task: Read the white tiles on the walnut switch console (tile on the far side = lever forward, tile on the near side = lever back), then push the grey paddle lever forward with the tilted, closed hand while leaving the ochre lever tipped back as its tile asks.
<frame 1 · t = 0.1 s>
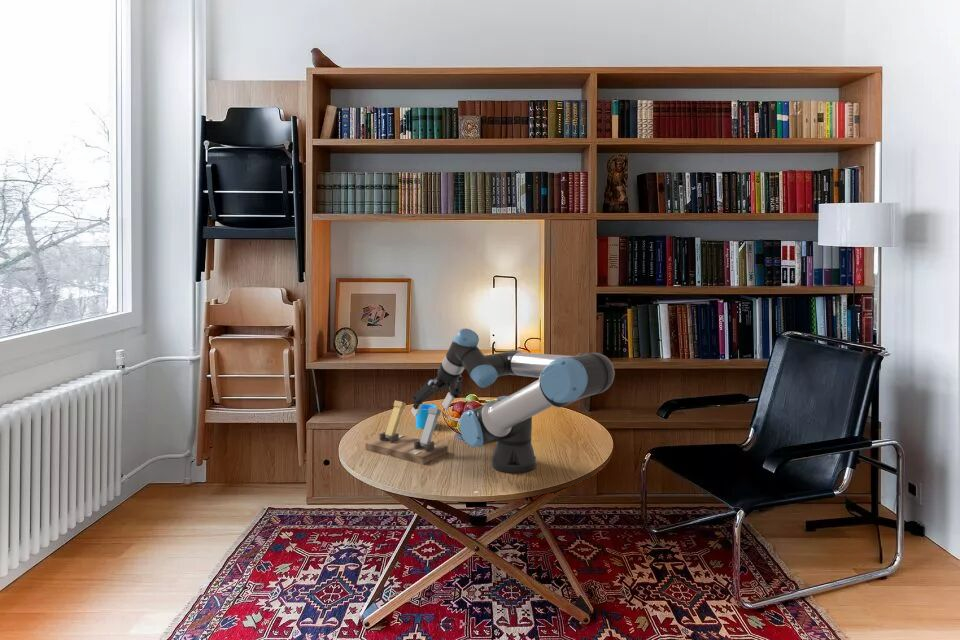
hand: (429, 410, 229), 15 cm above the table, tool tilted 35°, fingers open, 13 cm apart
grey lever: (429, 427, 229), point 9 cm above the table, hinge at 30.0°
console: (406, 451, 232), on the table
mug: (426, 425, 262), on the table
ochre lever: (394, 420, 237), point 9 cm above the table, hinge at 30.0°
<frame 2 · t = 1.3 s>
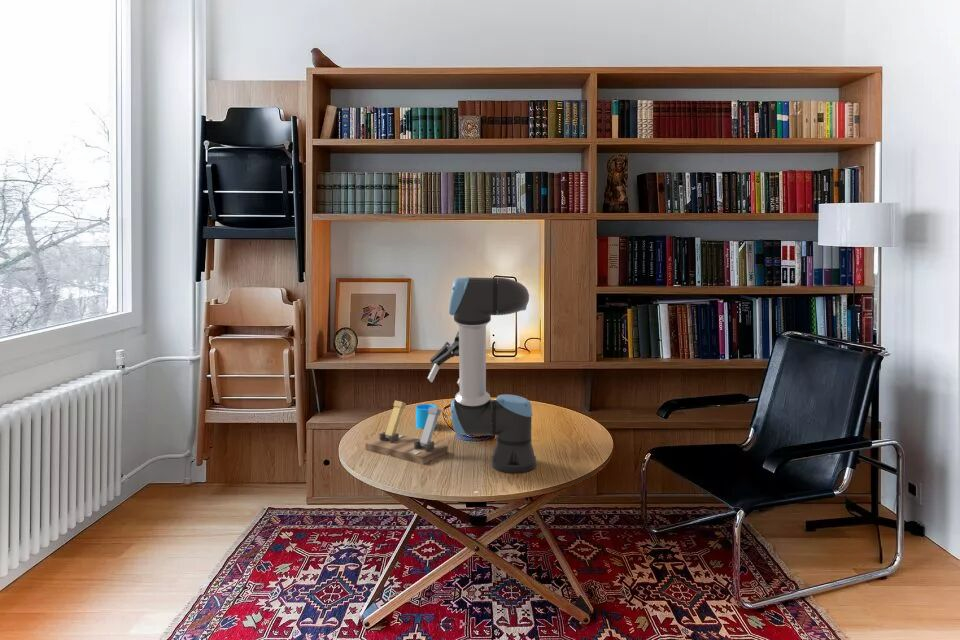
hand: (444, 382, 234), 24 cm above the table, tool tilted 45°, fingers open, 12 cm apart
nothing on the table moved.
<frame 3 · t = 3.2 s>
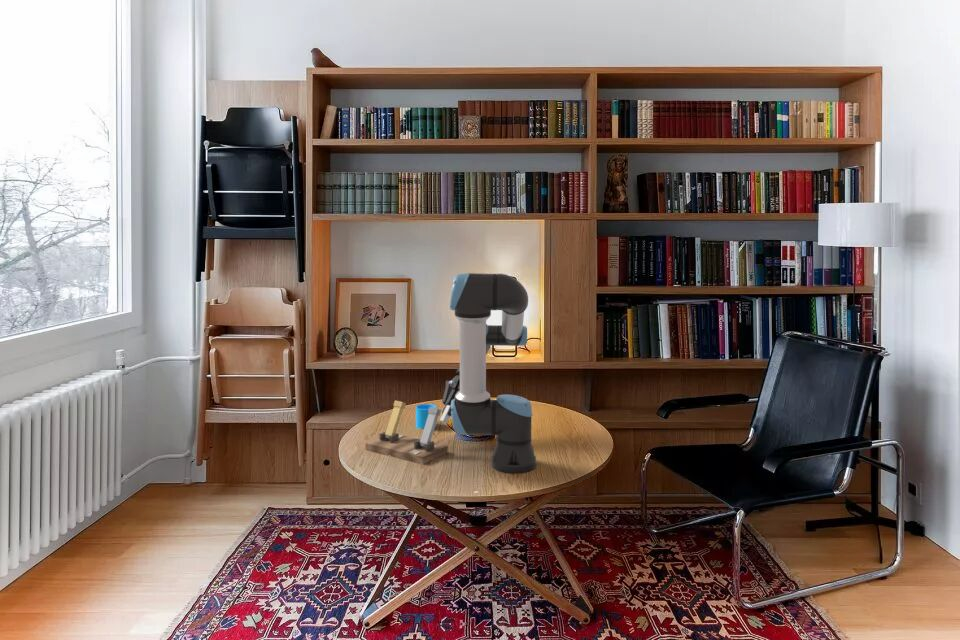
hand: (442, 422, 236), 9 cm above the table, tool tilted 45°, fingers closed
nothing on the table moved.
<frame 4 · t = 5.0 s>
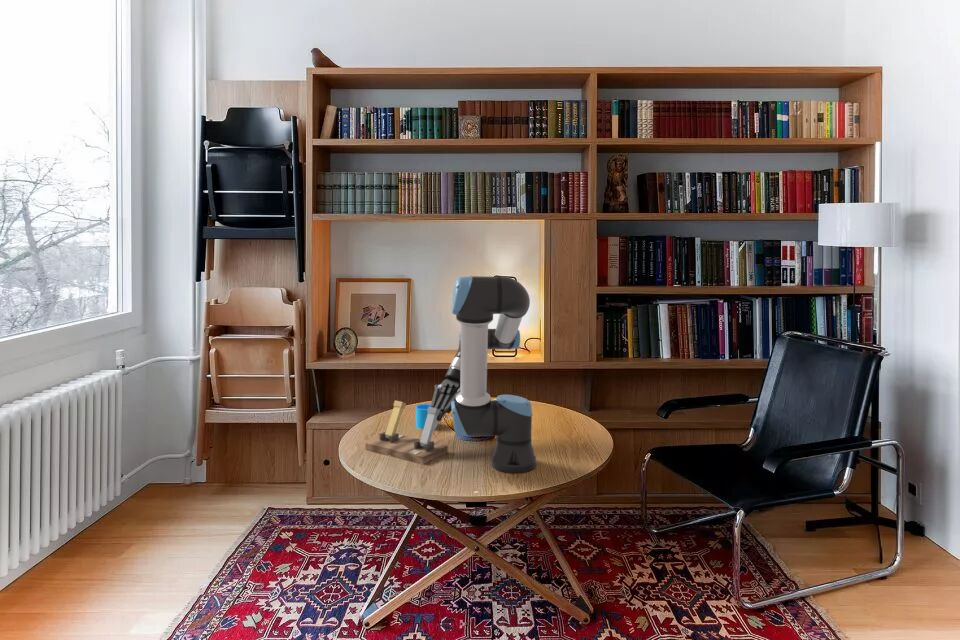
hand: (431, 427, 231), 8 cm above the table, tool tilted 45°, fingers closed
grey lever: (429, 427, 228), point 9 cm above the table, hinge at 27.2°, touching gripper
everything else where it was.
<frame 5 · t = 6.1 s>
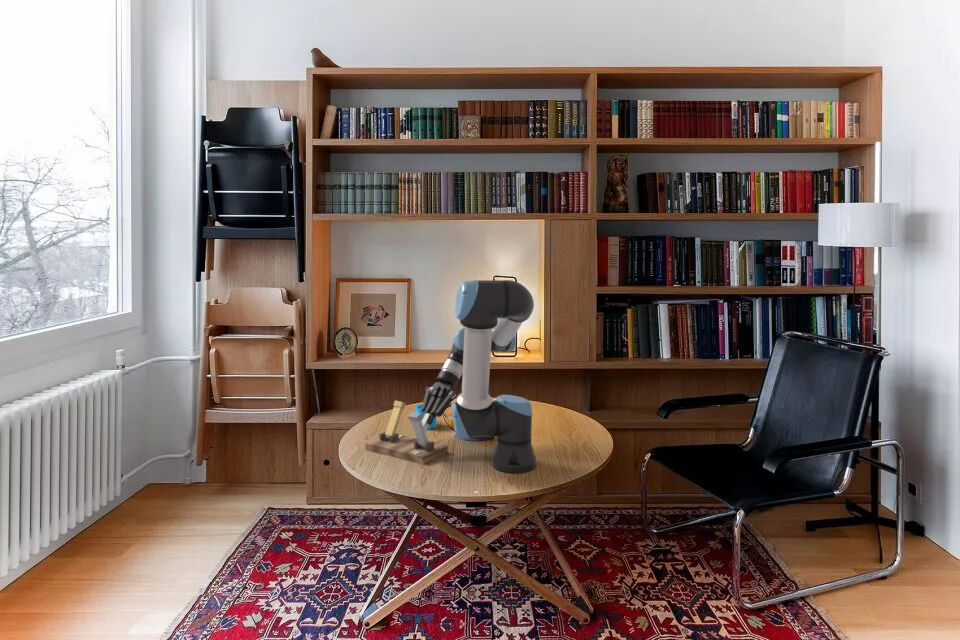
hand: (421, 431, 227), 9 cm above the table, tool tilted 45°, fingers closed
grey lever: (419, 430, 224), point 9 cm above the table, hinge at -23.1°, touching gripper
everything else where it was.
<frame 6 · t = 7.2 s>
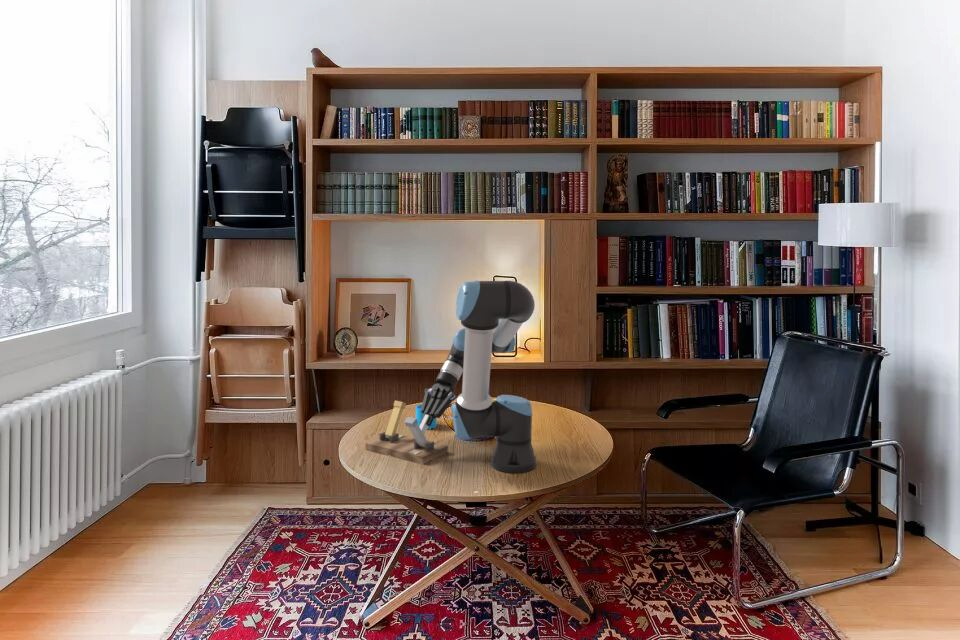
hand: (420, 432, 225), 9 cm above the table, tool tilted 45°, fingers closed
grey lever: (417, 433, 223), point 9 cm above the table, hinge at -34.8°
everything else where it was.
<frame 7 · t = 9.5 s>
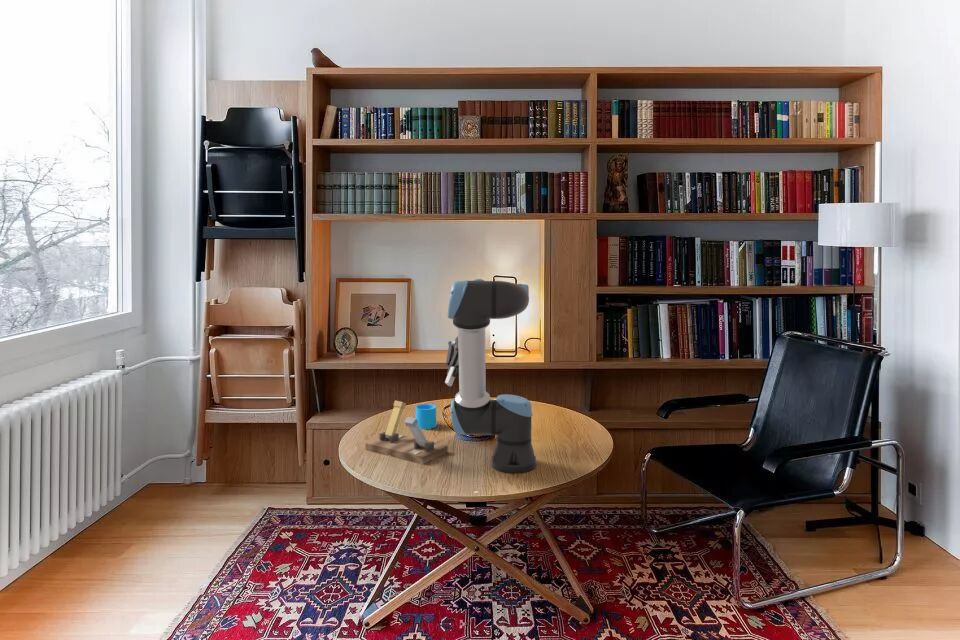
hand: (448, 384, 234), 23 cm above the table, tool tilted 40°, fingers closed
nothing on the table moved.
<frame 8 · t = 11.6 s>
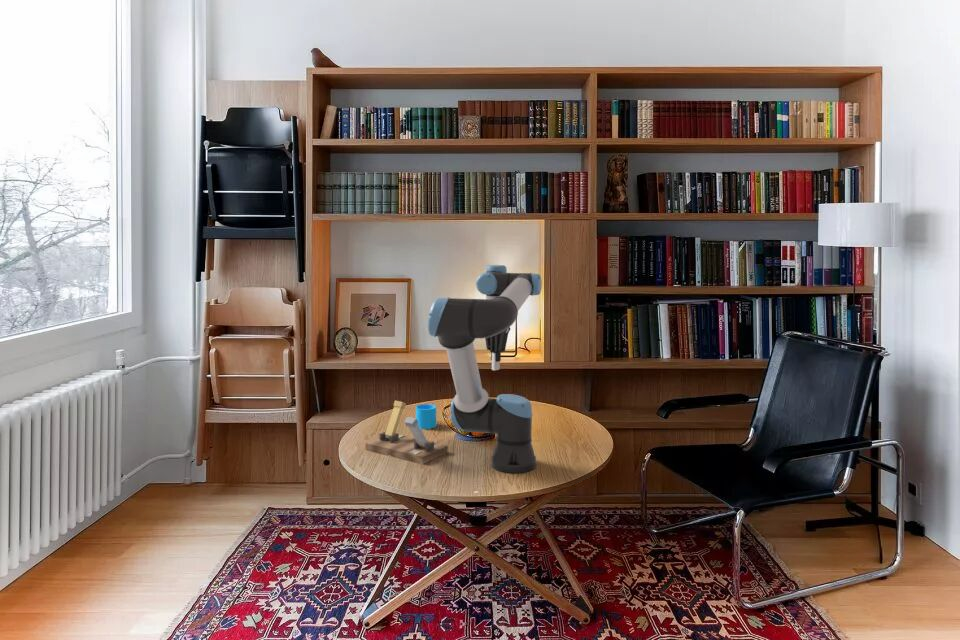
hand: (495, 369, 243), 26 cm above the table, tool pointing down, fingers closed
nothing on the table moved.
at the end: grey lever at -35° (first picture: +30°); ochre lever at +30° (first picture: +30°) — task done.
